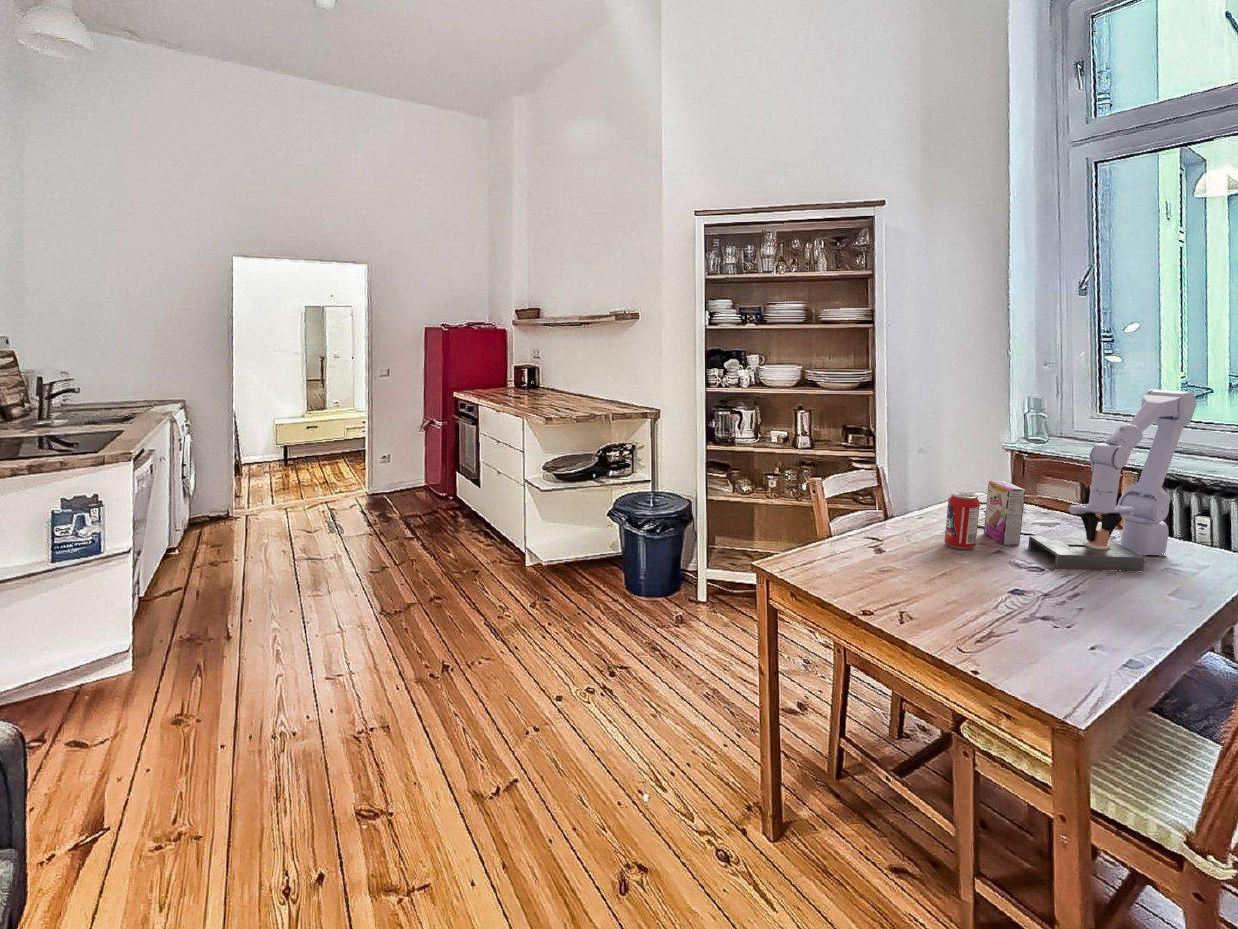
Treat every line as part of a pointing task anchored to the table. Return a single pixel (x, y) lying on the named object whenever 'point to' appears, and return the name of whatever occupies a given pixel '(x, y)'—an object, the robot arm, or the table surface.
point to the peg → (1099, 540)
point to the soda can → (962, 520)
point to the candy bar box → (1004, 512)
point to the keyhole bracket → (1087, 554)
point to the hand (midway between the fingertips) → (1097, 540)
